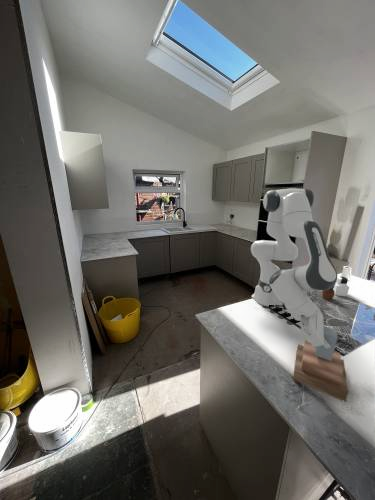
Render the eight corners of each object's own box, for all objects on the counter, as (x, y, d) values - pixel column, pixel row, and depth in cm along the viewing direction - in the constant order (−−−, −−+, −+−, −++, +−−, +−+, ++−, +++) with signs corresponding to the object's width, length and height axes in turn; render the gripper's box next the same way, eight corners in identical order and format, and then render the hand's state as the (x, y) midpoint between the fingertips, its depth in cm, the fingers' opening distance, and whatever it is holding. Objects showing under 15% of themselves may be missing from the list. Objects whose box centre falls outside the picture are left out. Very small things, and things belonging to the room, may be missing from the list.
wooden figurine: (319, 295, 137) (324, 274, 133) (328, 295, 137) (333, 275, 132) (325, 300, 131) (330, 279, 126) (334, 301, 130) (340, 279, 126)
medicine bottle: (341, 291, 143) (345, 276, 139) (346, 296, 136) (351, 280, 132) (330, 290, 144) (334, 274, 141) (334, 295, 138) (338, 279, 134)
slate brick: (315, 346, 80) (320, 325, 77) (330, 351, 77) (336, 329, 74) (314, 355, 76) (320, 332, 73) (331, 361, 73) (337, 337, 70)
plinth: (296, 351, 90) (299, 336, 87) (341, 367, 82) (346, 351, 79) (292, 379, 77) (296, 362, 74) (345, 401, 69) (351, 383, 66)
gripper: (309, 321, 66) (339, 358, 64) (311, 294, 83) (335, 323, 81) (292, 327, 70) (320, 363, 68) (297, 301, 86) (319, 328, 84)
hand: (328, 341), depth 74 cm, fingers closed on slate brick, 5 cm apart
